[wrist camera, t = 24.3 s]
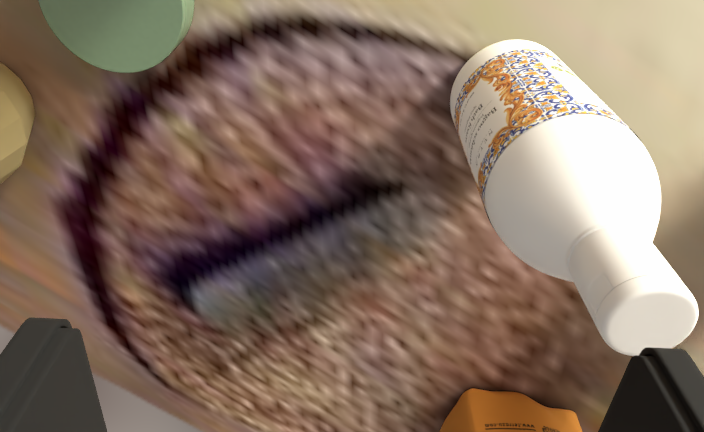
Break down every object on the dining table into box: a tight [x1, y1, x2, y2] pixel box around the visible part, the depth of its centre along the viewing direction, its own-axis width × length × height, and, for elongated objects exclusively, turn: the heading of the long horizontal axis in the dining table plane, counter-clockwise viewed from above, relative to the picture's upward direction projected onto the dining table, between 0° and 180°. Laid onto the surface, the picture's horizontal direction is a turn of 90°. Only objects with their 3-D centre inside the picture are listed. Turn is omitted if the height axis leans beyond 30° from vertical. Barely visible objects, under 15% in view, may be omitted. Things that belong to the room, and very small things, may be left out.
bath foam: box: [450, 40, 699, 356], centre depth 26 cm, size 7×7×20 cm
